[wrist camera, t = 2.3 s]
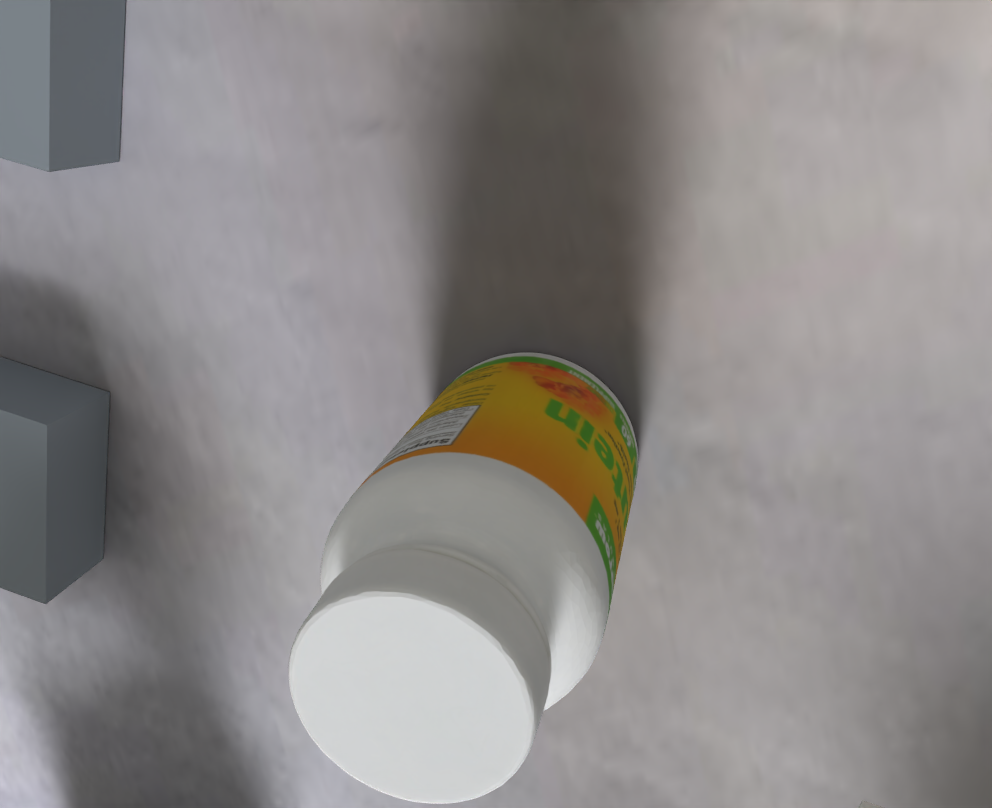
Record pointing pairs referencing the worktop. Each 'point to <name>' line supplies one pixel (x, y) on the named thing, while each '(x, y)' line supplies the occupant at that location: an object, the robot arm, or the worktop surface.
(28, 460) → the notched board
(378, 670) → the supplement bottle
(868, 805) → the robot arm
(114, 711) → the worktop surface
